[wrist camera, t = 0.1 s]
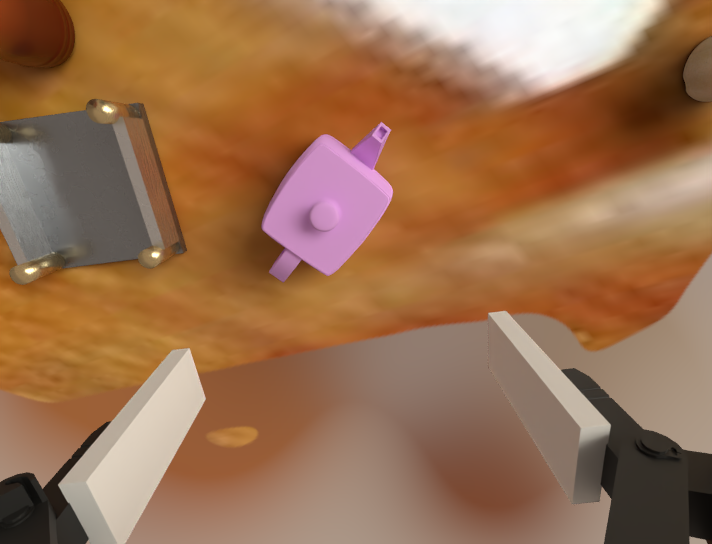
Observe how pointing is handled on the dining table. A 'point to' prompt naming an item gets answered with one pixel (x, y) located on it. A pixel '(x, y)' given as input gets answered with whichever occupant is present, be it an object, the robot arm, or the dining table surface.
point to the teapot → (328, 203)
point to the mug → (35, 32)
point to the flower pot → (699, 72)
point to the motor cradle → (84, 191)
